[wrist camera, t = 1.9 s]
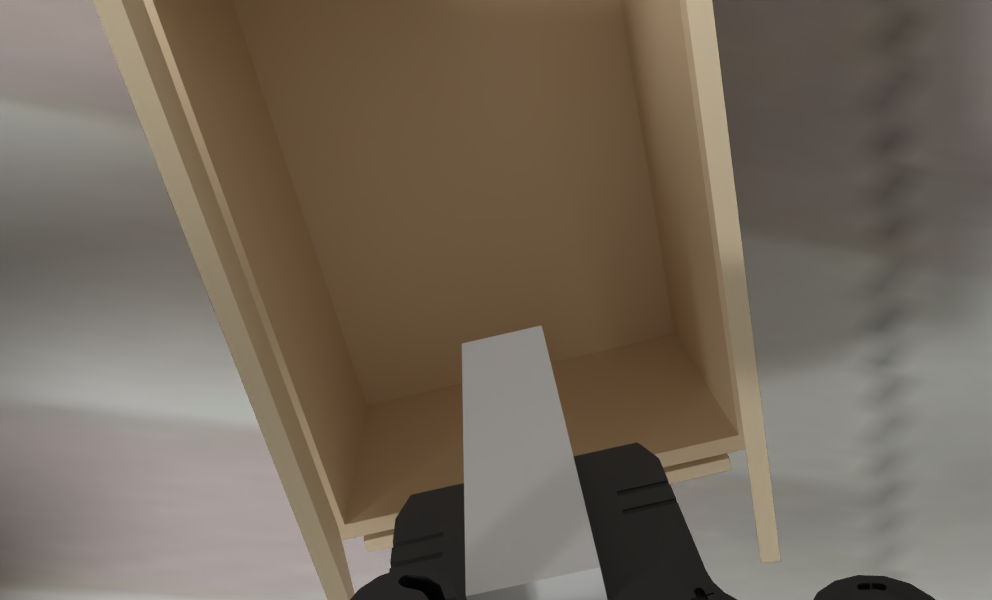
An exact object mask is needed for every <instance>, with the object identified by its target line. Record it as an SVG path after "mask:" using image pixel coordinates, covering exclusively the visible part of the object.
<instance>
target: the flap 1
mask: <svg viewBox="0 0 992 600" xmlns="http://www.w3.org/2000/svg"><path fill="white" fill-rule="evenodd" d="M93 3H94V6H95V8H96V11H97V13H98V16H99V18H100V21H101V23H102V26H103V28H104V31H105V34H106V36H107V39H108V41H109V44H110V46H111V49H112V51H113V54H114V56H115V59H116V62H117V64H118V67H119V69H120V72H121V74H122V77H123V79H124V82H125V84H126V87H127V90H128V92H129V95H130V97H131V100H132V102H133V105H134V107H135V110H136V113H137V115H138V118H139V120H140V123H141V125H142V128H143V130H144V133H145V135H146V138H147V141H148V143H149V146H150V148H151V151H152V153H153V156H154V158H155V161H156V163H157V166H158V169H159V171H160V174H161V176H162V179H163V181H164V184H165V186H166V189H167V191H168V194H169V197H170V199H171V202H172V204H173V207H174V209H175V212H176V214H177V217H178V220H179V222H180V225H181V227H182V230H183V232H184V235H185V237H186V240H187V242H188V245H189V248H190V250H191V253H192V255H193V258H194V260H195V263H196V265H197V268H198V270H199V273H200V276H201V278H202V281H203V283H204V286H205V288H206V291H207V293H208V296H209V298H210V301H211V304H212V306H213V309H214V311H215V314H216V316H217V319H218V321H219V324H220V327H221V329H222V332H223V334H224V337H225V339H226V342H227V344H228V347H229V349H230V352H231V355H232V357H233V360H234V362H235V365H236V367H237V370H238V372H239V375H240V377H241V380H242V383H243V385H244V388H245V390H246V393H247V395H248V398H249V400H250V403H251V405H252V408H253V411H254V413H255V416H256V418H257V421H258V423H259V426H260V428H261V431H262V434H263V436H264V439H265V441H266V444H267V446H268V449H269V451H270V454H271V456H272V459H273V462H274V464H275V467H276V469H277V472H278V474H279V477H280V479H281V482H282V484H283V487H284V490H285V492H286V495H287V497H288V500H289V502H290V505H291V507H292V510H293V512H294V515H295V518H296V520H297V523H298V525H299V528H300V530H301V533H302V535H303V538H304V541H305V543H306V546H307V548H308V551H309V553H310V556H311V558H312V561H313V563H314V566H315V569H316V571H317V574H318V576H319V579H320V581H321V584H322V586H323V589H324V591H325V594H326V597H327V599H328V600H350V599H351V598H352V597H353V596H354V595H355V594H354V590H353V585H352V581H351V577H350V573H349V569H348V565H347V561H346V557H345V553H344V548H343V544H342V540H341V536H340V532H339V528H338V525H337V523H336V520H335V517H334V514H333V512H332V509H331V506H330V504H329V501H328V498H327V496H326V493H325V490H324V487H323V485H322V482H321V479H320V477H319V474H318V471H317V469H316V466H315V463H314V460H313V458H312V455H311V452H310V450H309V447H308V444H307V442H306V439H305V436H304V433H303V431H302V428H301V425H300V423H299V420H298V417H297V415H296V412H295V409H294V406H293V404H292V401H291V398H290V396H289V393H288V390H287V388H286V385H285V382H284V379H283V377H282V374H281V371H280V369H279V366H278V363H277V361H276V358H275V355H274V352H273V350H272V347H271V344H270V342H269V339H268V336H267V334H266V331H265V328H264V325H263V323H262V320H261V317H260V315H259V312H258V309H257V307H256V304H255V301H254V298H253V296H252V293H251V290H250V288H249V285H248V282H247V280H246V277H245V274H244V271H243V269H242V266H241V263H240V261H239V258H238V255H237V253H236V250H235V247H234V244H233V242H232V239H231V236H230V234H229V231H228V228H227V226H226V223H225V220H224V217H223V215H222V212H221V209H220V207H219V204H218V201H217V199H216V196H215V193H214V190H213V188H212V185H211V182H210V180H209V177H208V174H207V172H206V169H205V166H204V163H203V161H202V158H201V155H200V153H199V150H198V147H197V145H196V142H195V139H194V136H193V134H192V131H191V128H190V126H189V123H188V120H187V118H186V115H185V112H184V109H183V107H182V104H181V101H180V99H179V96H178V93H177V91H176V88H175V85H174V82H173V80H172V77H171V74H170V72H169V69H168V66H167V64H166V61H165V58H164V55H163V53H162V50H161V47H160V45H159V42H158V39H157V37H156V34H155V31H154V28H153V26H152V23H151V20H150V18H149V15H148V12H147V10H146V7H145V4H144V1H143V0H93Z"/></svg>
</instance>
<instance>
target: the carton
mask: <svg viewBox="0 0 992 600" xmlns="http://www.w3.org/2000/svg"><path fill="white" fill-rule="evenodd" d="M143 1H144V4H145V7H146V10H147V12H148V15H149V18H150V20H151V23H152V26H153V28H154V31H155V34H156V37H157V39H158V42H159V45H160V47H161V50H162V53H163V55H164V58H165V61H166V64H167V66H168V69H169V72H170V74H171V77H172V80H173V82H174V85H175V88H176V91H177V93H178V96H179V99H180V101H181V104H182V107H183V109H184V112H185V115H186V118H187V120H188V123H189V126H190V128H191V131H192V134H193V136H194V139H195V142H196V145H197V147H198V150H199V153H200V155H201V158H202V161H203V163H204V166H205V169H206V172H207V174H208V177H209V180H210V182H211V185H212V188H213V190H214V193H215V196H216V199H217V201H218V204H219V207H220V209H221V212H222V215H223V217H224V220H225V223H226V226H227V228H228V231H229V234H230V236H231V239H232V242H233V244H234V247H235V250H236V253H237V255H238V258H239V261H240V263H241V266H242V269H243V271H244V274H245V277H246V280H247V282H248V285H249V288H250V290H251V293H252V296H253V298H254V301H255V304H256V307H257V309H258V312H259V315H260V317H261V320H262V323H263V325H264V328H265V331H266V334H267V336H268V339H269V342H270V344H271V347H272V350H273V352H274V355H275V358H276V361H277V363H278V366H279V369H280V371H281V374H282V377H283V379H284V382H285V385H286V388H287V390H288V393H289V396H290V398H291V401H292V404H293V406H294V409H295V412H296V415H297V417H298V420H299V423H300V425H301V428H302V431H303V433H304V436H305V439H306V442H307V444H308V447H309V450H310V452H311V455H312V458H313V460H314V463H315V466H316V469H317V471H318V474H319V477H320V479H321V482H322V485H323V487H324V490H325V493H326V496H327V498H328V501H329V504H330V506H331V509H332V512H333V514H334V517H335V520H336V523H337V525H338V528H339V532H340V536H341V540H346V539H351V538H355V537H360V536H364V544H365V546H366V549H367V552H372V551H376V550H381V549H385V548H390V547H393V535H394V526H395V519H396V517H397V515H398V514H399V512H400V511H401V509H402V508H403V506H404V505H405V503H406V502H407V500H408V498H409V497H410V495H412V494H417V493H421V492H426V491H430V490H435V489H439V488H444V487H448V486H453V485H458V484H462V483H464V452H463V388H462V343H467V342H471V341H475V340H480V339H484V338H488V337H493V336H497V335H502V334H506V333H510V332H515V331H519V330H523V329H528V328H532V327H537V326H541V325H542V329H543V333H544V337H545V341H546V345H547V350H548V354H549V358H550V362H551V366H552V370H553V374H554V379H555V383H556V387H557V391H558V395H559V399H560V403H561V407H562V412H563V416H564V420H565V424H566V428H567V432H568V436H569V440H570V445H571V449H572V453H573V456H578V455H582V454H587V453H591V452H596V451H600V450H605V449H609V448H614V447H618V446H623V445H627V444H632V443H636V442H638V443H639V444H641V445H642V446H643V447H645V448H646V449H647V450H649V451H650V452H651V453H653V454H654V455H655V456H657V457H658V458H659V459H660V462H661V464H662V467H663V469H664V471H665V474H666V476H667V479H668V482H669V484H672V483H677V482H681V481H686V480H690V479H694V478H699V477H703V476H708V475H712V474H716V473H721V472H725V471H730V470H731V467H730V460H729V457H728V455H727V453H729V452H734V451H738V450H743V449H746V447H745V439H744V432H743V424H742V417H741V409H740V402H739V394H738V387H737V379H736V372H735V364H734V357H733V349H732V342H731V334H730V327H729V319H728V312H727V304H726V297H725V289H724V282H723V274H722V267H721V259H720V252H719V244H718V237H717V229H716V222H715V214H714V207H713V199H712V192H711V184H710V177H709V169H708V162H707V154H706V147H705V139H704V132H703V124H702V117H701V109H700V102H699V94H698V87H697V79H696V72H695V64H694V57H693V49H692V42H691V34H690V27H689V19H688V12H687V4H686V0H143Z"/></svg>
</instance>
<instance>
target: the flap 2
mask: <svg viewBox="0 0 992 600" xmlns="http://www.w3.org/2000/svg"><path fill="white" fill-rule="evenodd" d="M686 4H687V12H688V19H689V27H690V34H691V42H692V49H693V57H694V64H695V72H696V79H697V87H698V94H699V102H700V109H701V117H702V124H703V132H704V139H705V147H706V154H707V162H708V169H709V177H710V184H711V192H712V199H713V207H714V214H715V222H716V229H717V237H718V244H719V252H720V259H721V267H722V274H723V282H724V289H725V297H726V304H727V312H728V319H729V327H730V334H731V342H732V349H733V357H734V364H735V372H736V379H737V387H738V394H739V402H740V409H741V417H742V424H743V432H744V439H745V447H746V454H747V462H748V469H749V477H750V484H751V492H752V499H753V507H754V514H755V522H756V529H757V537H758V544H759V552H760V559H761V562H780V553H779V545H778V537H777V528H776V520H775V512H774V504H773V495H772V487H771V479H770V471H769V463H768V454H767V446H766V438H765V430H764V422H763V413H762V405H761V397H760V389H759V381H758V372H757V364H756V356H755V348H754V340H753V331H752V323H751V315H750V307H749V299H748V290H747V282H746V274H745V266H744V257H743V249H742V241H741V233H740V225H739V216H738V208H737V200H736V192H735V184H734V175H733V167H732V159H731V151H730V143H729V134H728V126H727V118H726V110H725V102H724V93H723V85H722V77H721V69H720V60H719V52H718V44H717V36H716V28H715V19H714V11H713V3H712V0H686Z"/></svg>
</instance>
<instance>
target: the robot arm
mask: <svg viewBox="0 0 992 600" xmlns="http://www.w3.org/2000/svg"><path fill="white" fill-rule="evenodd" d="M462 388H463V452H464V483H462V484H458V485H453V486H448V487H444V488H439V489H435V490H430V491H426V492H421V493H417V494H412V495H410V497H409V498H408V500H407V502H406V503H405V505H404V506H403V508H402V509H401V511H400V512H399V514H398V515H397V517H396V519H395V526H394V535H393V548H392V553H391V562H390V564H391V568H390V571H389V573H387V574H384V575H381V576H379V577H377V578H376V579H374V580H373V581H371V582H369V583H368V584H366V585H365V586H363V587H362V588H360V589H359V590H358V591H357V592H356V593H355V595H354V596H353V597H352V598H351V599H350V600H737V599H735V598H733V597H731V596H730V595H728V594H726V593H724V592H723V591H722V590H721V589H720V588H719V587H718V586H717V585H716V584H714V583H713V581H712V580H711V578H710V576H709V575H708V573H707V572H706V570H705V567H704V565H703V562H702V560H701V558H700V555H699V553H698V550H697V548H696V546H695V543H694V541H693V538H692V536H691V534H690V531H689V529H688V526H687V524H686V522H685V519H684V517H683V514H682V512H681V510H680V507H679V505H678V503H677V501H676V498H675V495H674V493H673V491H672V488H671V486H670V485H669V482H668V479H667V476H666V474H665V471H664V469H663V467H662V464H661V462H660V459H659V458H658V457H657V456H655V455H654V454H653V453H651V452H650V451H649V450H647V449H646V448H645V447H643V446H642V445H641V444H639V443H638V442H636V443H632V444H627V445H623V446H618V447H614V448H609V449H605V450H600V451H596V452H591V453H587V454H582V455H578V456H573V453H572V449H571V445H570V440H569V436H568V432H567V428H566V424H565V420H564V416H563V412H562V407H561V403H560V399H559V395H558V391H557V387H556V383H555V379H554V374H553V370H552V366H551V362H550V358H549V354H548V350H547V345H546V341H545V337H544V333H543V329H542V325H541V326H537V327H532V328H528V329H523V330H519V331H515V332H510V333H506V334H502V335H497V336H493V337H488V338H484V339H480V340H475V341H471V342H467V343H462ZM814 600H935V599H934V598H933V597H931V596H930V595H928V594H926V593H925V592H923V591H921V590H920V589H918V588H916V587H915V586H913V585H912V584H909V583H906V582H903V581H899V580H896V579H892V578H889V577H885V576H864V575H857V576H853V577H849V578H845V579H841V580H837V581H834V582H833V583H831V584H830V585H828V586H827V587H825V588H824V589H822V590H821V591H819V592H818V593H817V594H816V596H815V598H814Z"/></svg>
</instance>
